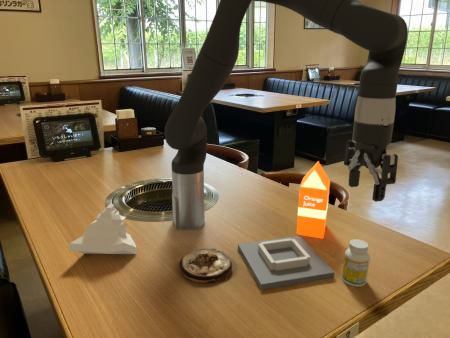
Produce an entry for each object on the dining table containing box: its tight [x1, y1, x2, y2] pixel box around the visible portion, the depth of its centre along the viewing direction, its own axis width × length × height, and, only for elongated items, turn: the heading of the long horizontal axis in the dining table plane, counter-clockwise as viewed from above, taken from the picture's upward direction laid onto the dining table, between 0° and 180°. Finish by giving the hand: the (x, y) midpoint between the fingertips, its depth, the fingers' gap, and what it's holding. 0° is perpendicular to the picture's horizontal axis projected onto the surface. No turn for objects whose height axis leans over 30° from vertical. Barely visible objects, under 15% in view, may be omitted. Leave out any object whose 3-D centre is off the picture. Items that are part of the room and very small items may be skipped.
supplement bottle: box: [341, 238, 371, 288], centre depth 84 cm, size 5×5×10 cm
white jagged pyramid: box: [68, 202, 138, 255], centre depth 96 cm, size 12×15×14 cm
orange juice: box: [295, 161, 331, 239], centre depth 105 cm, size 8×9×20 cm
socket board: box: [237, 235, 335, 291], centre depth 91 cm, size 18×18×4 cm
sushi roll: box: [179, 248, 233, 284], centre depth 89 cm, size 15×15×4 cm
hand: (365, 193), depth 80 cm, fingers open, 8 cm apart
